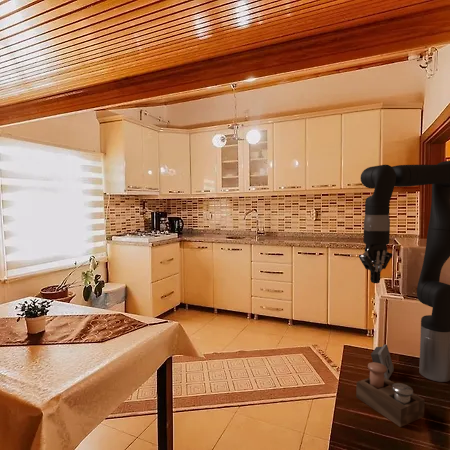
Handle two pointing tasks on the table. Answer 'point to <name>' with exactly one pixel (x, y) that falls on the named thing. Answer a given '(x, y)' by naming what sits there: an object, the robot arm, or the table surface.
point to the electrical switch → (383, 359)
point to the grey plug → (402, 393)
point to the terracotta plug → (377, 374)
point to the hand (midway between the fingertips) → (375, 282)
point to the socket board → (390, 402)
